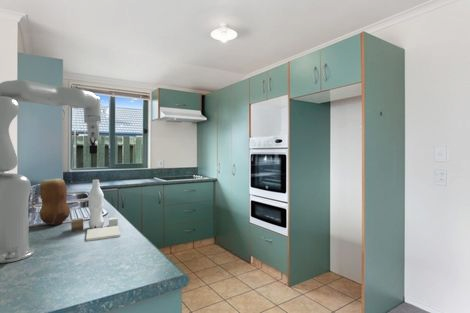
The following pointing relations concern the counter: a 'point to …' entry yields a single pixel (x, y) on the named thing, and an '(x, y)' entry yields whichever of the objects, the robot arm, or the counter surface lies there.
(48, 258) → the counter surface
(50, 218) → the butternut squash
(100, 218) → the water bottle
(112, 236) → the placemat
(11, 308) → the counter surface
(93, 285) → the counter surface
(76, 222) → the walnut block
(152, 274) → the counter surface
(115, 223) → the pale grey block
